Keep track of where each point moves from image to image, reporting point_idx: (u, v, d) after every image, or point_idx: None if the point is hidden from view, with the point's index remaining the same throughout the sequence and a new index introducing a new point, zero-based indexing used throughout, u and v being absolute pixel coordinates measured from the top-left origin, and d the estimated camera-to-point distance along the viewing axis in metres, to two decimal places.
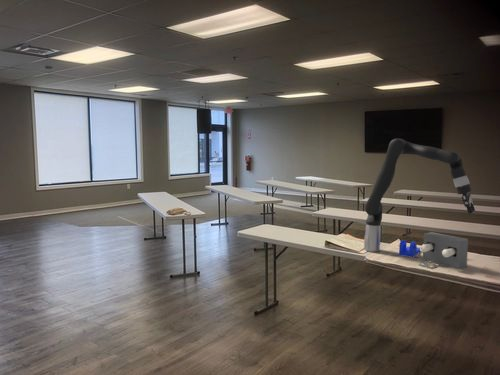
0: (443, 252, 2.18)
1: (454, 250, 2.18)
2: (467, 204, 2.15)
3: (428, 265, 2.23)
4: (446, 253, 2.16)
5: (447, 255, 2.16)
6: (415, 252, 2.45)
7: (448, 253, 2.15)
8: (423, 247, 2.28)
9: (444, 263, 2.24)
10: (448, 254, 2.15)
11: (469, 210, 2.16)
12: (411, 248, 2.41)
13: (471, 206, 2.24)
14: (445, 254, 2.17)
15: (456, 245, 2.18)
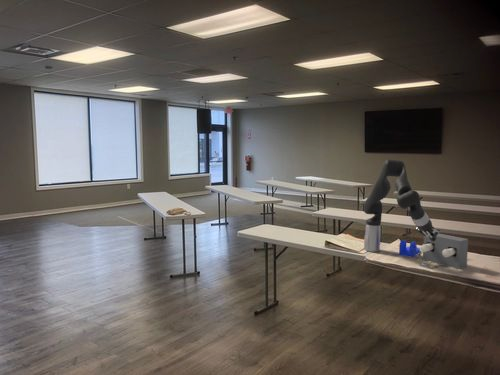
0: (443, 252, 2.18)
1: (454, 250, 2.18)
2: (424, 233, 2.09)
3: (428, 265, 2.23)
4: (446, 253, 2.16)
5: (447, 255, 2.16)
6: (415, 252, 2.45)
7: (448, 253, 2.15)
8: (423, 247, 2.28)
9: (444, 263, 2.24)
10: (448, 254, 2.15)
11: None
12: (411, 248, 2.41)
13: None
14: (445, 254, 2.17)
15: (456, 245, 2.18)
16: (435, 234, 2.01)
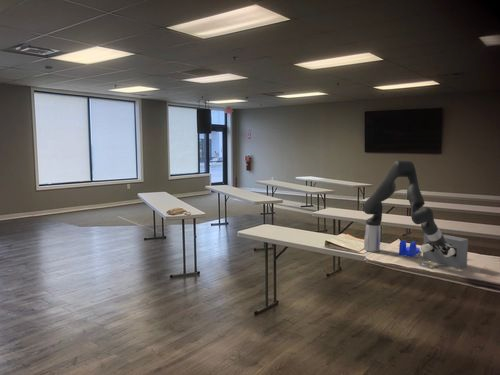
0: None
1: (455, 250, 2.19)
2: (436, 247, 2.17)
3: (428, 265, 2.23)
4: None
5: (448, 255, 2.16)
6: (415, 252, 2.45)
7: (449, 253, 2.16)
8: (423, 247, 2.28)
9: (444, 263, 2.24)
10: (449, 254, 2.16)
11: None
12: (411, 248, 2.41)
13: None
14: None
15: (456, 245, 2.18)
16: (447, 248, 2.09)
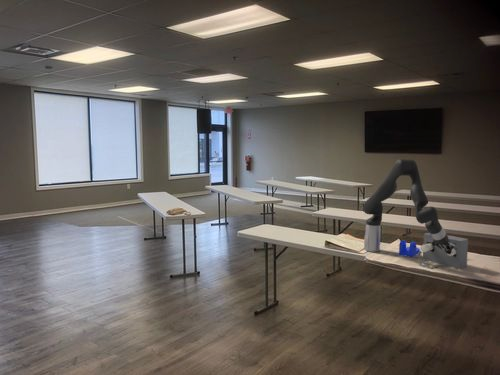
0: None
1: None
2: None
3: (428, 265, 2.23)
4: (451, 252, 2.19)
5: (451, 254, 2.18)
6: (415, 252, 2.45)
7: (452, 252, 2.18)
8: (423, 247, 2.28)
9: (444, 263, 2.24)
10: (452, 253, 2.18)
11: None
12: (411, 248, 2.41)
13: None
14: None
15: (456, 245, 2.18)
16: (451, 247, 2.11)
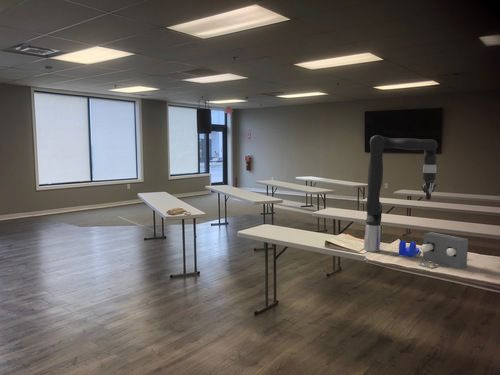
0: (447, 251, 2.20)
1: None
2: (426, 191, 2.41)
3: (428, 265, 2.23)
4: (451, 252, 2.19)
5: (451, 254, 2.18)
6: (415, 252, 2.44)
7: (452, 252, 2.18)
8: (423, 247, 2.28)
9: (444, 263, 2.24)
10: (452, 253, 2.18)
11: (427, 196, 2.43)
12: (411, 248, 2.41)
13: None
14: (450, 253, 2.19)
15: (456, 245, 2.18)
16: (434, 186, 2.44)
